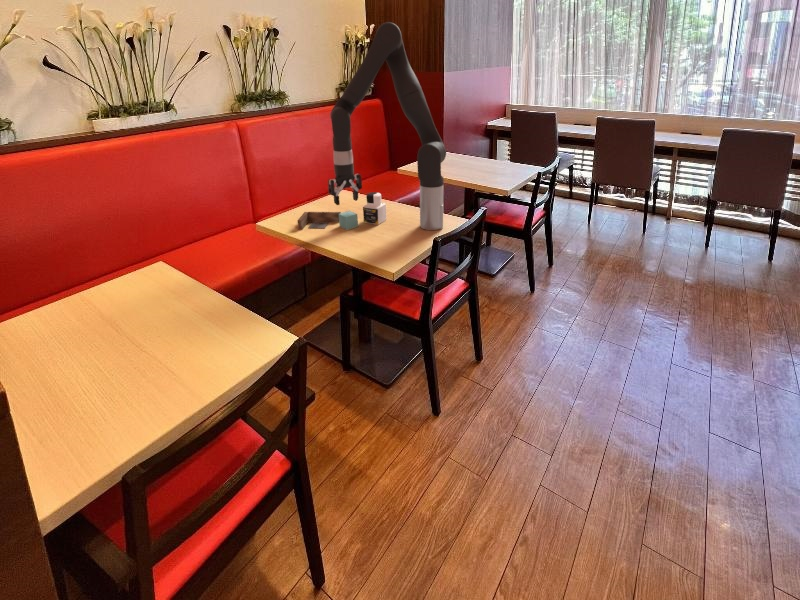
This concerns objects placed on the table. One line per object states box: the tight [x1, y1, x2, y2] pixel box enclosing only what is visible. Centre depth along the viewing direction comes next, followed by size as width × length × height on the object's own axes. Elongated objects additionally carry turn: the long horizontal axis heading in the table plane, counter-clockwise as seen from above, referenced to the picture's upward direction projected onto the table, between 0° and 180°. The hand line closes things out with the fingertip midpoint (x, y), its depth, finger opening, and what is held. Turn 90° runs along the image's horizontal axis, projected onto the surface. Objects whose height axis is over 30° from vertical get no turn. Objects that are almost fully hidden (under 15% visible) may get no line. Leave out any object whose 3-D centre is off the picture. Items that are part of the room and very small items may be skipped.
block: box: [338, 210, 359, 231], centre depth 198 cm, size 6×6×6 cm
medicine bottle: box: [362, 191, 387, 226], centre depth 201 cm, size 7×7×12 cm
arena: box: [296, 211, 342, 231], centre depth 201 cm, size 16×11×4 cm
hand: (346, 202), depth 195 cm, fingers open, 8 cm apart
